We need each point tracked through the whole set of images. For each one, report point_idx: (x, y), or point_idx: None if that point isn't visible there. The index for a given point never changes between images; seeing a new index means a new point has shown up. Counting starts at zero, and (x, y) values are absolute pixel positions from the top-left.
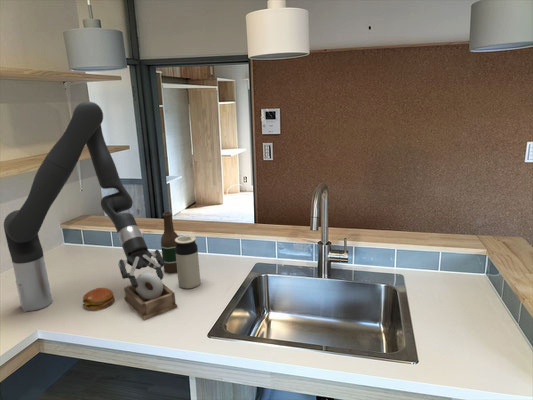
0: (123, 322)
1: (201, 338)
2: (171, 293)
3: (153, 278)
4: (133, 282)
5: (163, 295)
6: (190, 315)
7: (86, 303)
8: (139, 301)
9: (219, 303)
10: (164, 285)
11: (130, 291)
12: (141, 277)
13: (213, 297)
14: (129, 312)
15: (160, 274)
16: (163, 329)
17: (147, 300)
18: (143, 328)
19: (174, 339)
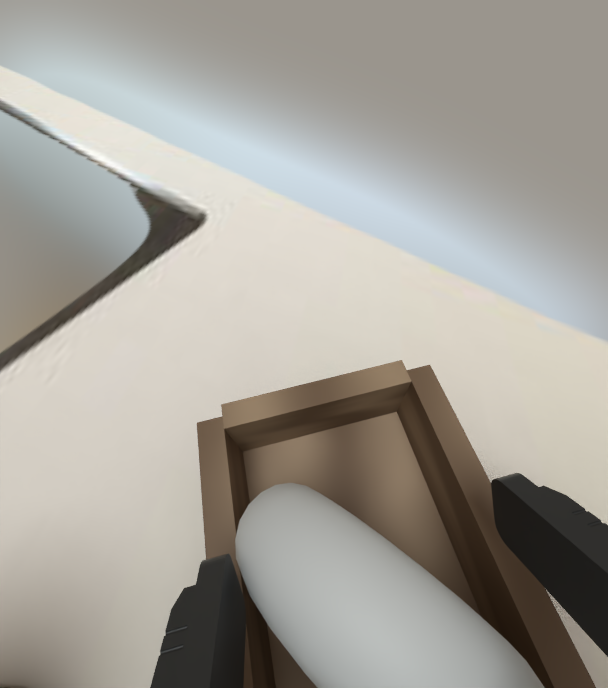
0: (510, 413)
1: (226, 216)
2: (217, 424)
3: (319, 506)
4: (570, 510)
5: None
6: (198, 340)
7: None
8: (444, 408)
9: (38, 380)
10: None
11: (563, 667)
12: (482, 626)
13: (13, 453)
14: None
15: (210, 590)
16: (326, 293)
17: None
18: (404, 327)
19: (302, 235)
